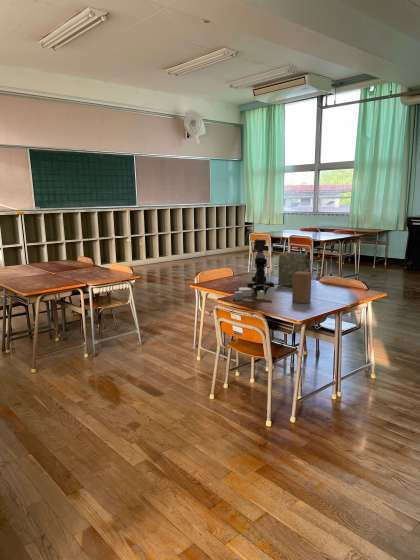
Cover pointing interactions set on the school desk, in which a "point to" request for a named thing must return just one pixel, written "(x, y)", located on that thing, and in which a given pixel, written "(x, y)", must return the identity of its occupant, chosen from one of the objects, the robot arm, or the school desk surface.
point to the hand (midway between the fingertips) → (259, 296)
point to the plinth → (245, 291)
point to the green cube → (260, 295)
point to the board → (249, 300)
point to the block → (301, 287)
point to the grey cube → (238, 295)
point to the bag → (291, 266)
